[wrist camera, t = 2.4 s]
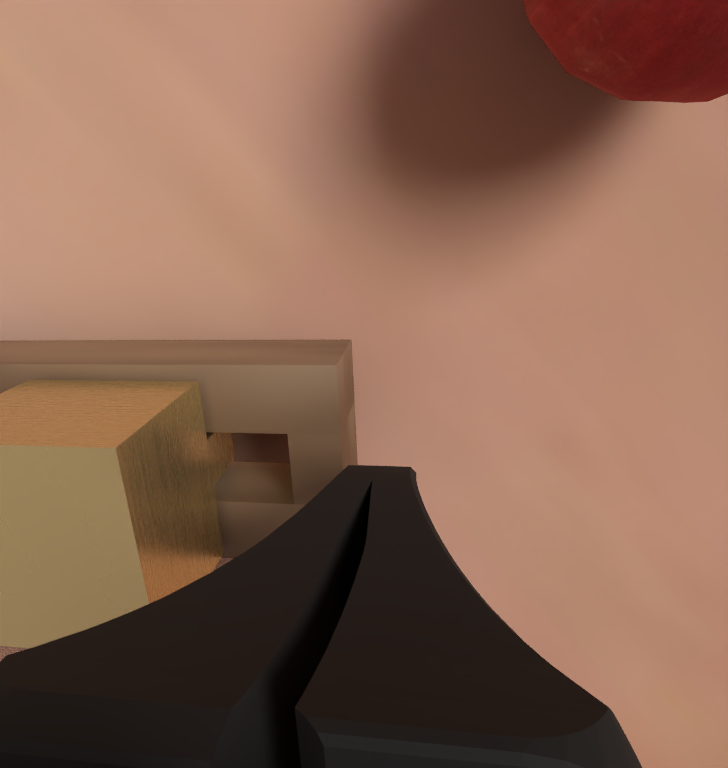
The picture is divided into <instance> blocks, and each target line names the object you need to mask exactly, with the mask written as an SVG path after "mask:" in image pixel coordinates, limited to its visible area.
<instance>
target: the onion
mask: <svg viewBox="0 0 728 768" xmlns="http://www.w3.org/2000/svg"><path fill="white" fill-rule="evenodd" d="M523 3H524V6H525V10H526V13H527V17H528V20H529V22H530V24H531V26H532V27H533V28H534V30H535V31H536V32H537V34H538V35H539V36H540V38H541V39H542V40H543V42H544V43H545V44H546V46H547V47H548V48H549V50H550V51H551V52H552V54H553V55H554V56H555V58H556V59H557V60H558V62H559V63H560V64H561V65H562V67H563V68H564V69H565V71H566V72H567V73H569V74H571V75H573V76H575V77H577V78H579V79H581V80H583V81H585V82H587V83H589V84H591V85H593V86H595V87H597V88H599V89H601V90H603V91H605V92H607V93H609V94H611V95H613V96H615V97H617V98H618V99H621V100H630V101H662V102H681V103H688V102H706V101H710V100H713V99H715V98H718V97H721V96H723V95H726V94H728V0H523Z"/></svg>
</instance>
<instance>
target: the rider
mask: <svg viewBox="0 0 728 768" xmlns="http://www.w3.org/2000/svg"><path fill="white" fill-rule="evenodd" d="M234 458H235V453H234V446H233V438H232V433H222V432H206V430H205V423H204V416H203V410H202V403H201V397H200V390H199V383H198V381H132V380H28V381H26V382H23V383H21V384H19V385H17V386H15V387H13V388H11V389H9V390H7V391H5V392H3V393H0V646H7V647H19V648H33V647H36V646H39V645H42V644H45V643H48V642H50V641H53V640H56V639H59V638H62V637H65V636H68V635H71V634H74V633H77V632H80V631H83V630H86V629H89V628H91V627H94V626H97V625H99V624H102V623H104V622H107V621H109V620H112V619H114V618H117V617H119V616H122V615H124V614H127V613H129V612H131V611H134V610H136V609H138V608H141V607H143V606H145V605H147V604H150V603H152V602H154V601H156V600H159V599H161V598H163V597H165V596H167V595H169V594H171V593H173V592H175V591H177V590H179V589H181V588H182V587H184V586H186V585H188V584H190V583H192V582H194V581H196V580H198V579H200V578H201V577H203V576H205V575H207V574H209V573H211V572H213V570H214V569H215V567H216V565H217V563H218V562H219V560H220V558H221V557H222V555H223V553H224V549H223V543H222V536H221V529H220V523H219V516H218V509H217V503H216V496H215V490H214V485H215V483H216V482H217V481H218V479H219V478H220V477H221V475H222V474H223V473H224V471H225V470H226V469H227V467H228V466H229V465H230V464H231V462H232V461H233V460H234Z"/></svg>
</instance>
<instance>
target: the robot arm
mask: <svg viewBox="0 0 728 768" xmlns="http://www.w3.org/2000/svg"><path fill="white" fill-rule="evenodd" d="M0 768H642V766H641V764H640V762H639V760H638V758H637V756H636V754H635V752H634V750H633V748H632V746H631V744H630V743H629V741H628V739H627V737H626V735H625V733H624V731H623V730H622V728H621V726H620V724H619V722H618V720H617V719H616V717H615V715H614V713H613V712H612V711H611V709H610V708H609V707H607V706H606V705H605V704H603V703H602V702H601V701H599V700H598V699H596V698H595V697H594V696H592V695H591V694H590V693H588V692H587V691H586V690H584V689H583V688H582V687H580V686H579V685H578V684H576V683H575V682H573V681H572V680H571V679H569V678H568V677H567V676H565V675H564V674H563V673H561V672H560V671H559V670H557V669H556V668H555V667H553V666H552V665H551V664H549V663H548V662H547V661H546V660H545V659H543V658H542V657H541V656H540V655H539V654H538V653H537V652H535V651H534V650H533V649H532V648H531V647H530V646H529V645H527V644H526V643H525V642H524V641H523V640H522V639H521V638H520V637H519V636H518V635H517V634H516V633H515V632H514V631H513V630H512V629H511V628H510V627H509V626H508V625H507V624H506V623H505V622H504V621H503V620H502V619H501V618H500V617H499V616H498V615H497V614H496V613H495V612H494V611H493V610H492V609H491V607H490V606H489V605H488V604H487V603H486V602H485V600H484V599H483V598H482V597H481V596H480V594H479V593H478V592H477V591H476V590H475V588H474V587H473V586H472V585H471V583H470V582H469V581H468V579H467V578H466V577H465V575H464V574H463V573H462V571H461V570H460V568H459V567H458V566H457V564H456V563H455V561H454V560H453V558H452V557H451V555H450V554H449V552H448V550H447V549H446V547H445V545H444V544H443V542H442V540H441V539H440V537H439V535H438V533H437V531H436V529H435V528H434V525H433V523H432V521H431V519H430V517H429V515H428V513H427V511H426V509H425V506H424V504H423V501H422V499H421V496H420V493H419V490H418V486H417V482H416V472H415V471H414V470H413V469H412V468H411V467H396V466H363V465H348V466H347V467H346V468H345V469H344V470H342V471H341V472H340V473H339V474H338V475H337V476H336V477H335V478H334V479H333V480H332V481H331V482H330V483H329V484H328V485H326V486H325V487H324V488H323V489H322V490H321V491H320V492H319V493H318V494H317V495H316V496H315V497H314V498H313V499H311V500H310V501H309V502H308V503H307V504H306V505H305V506H304V507H303V508H301V509H300V510H299V511H298V512H297V513H296V514H295V515H293V516H292V517H291V518H290V519H288V520H287V521H286V522H284V523H283V524H282V525H281V526H279V527H278V528H277V529H276V530H274V531H273V532H272V533H271V534H269V535H268V536H267V537H266V538H264V539H263V540H261V541H260V542H259V543H257V544H256V545H254V546H253V547H251V548H250V549H248V550H247V551H245V552H244V553H242V554H241V555H239V556H238V557H236V558H234V559H233V560H231V561H230V562H228V563H226V564H225V565H223V566H222V567H220V568H218V569H216V570H215V571H213V572H211V573H209V574H207V575H205V576H203V577H201V578H200V579H198V580H196V581H194V582H192V583H190V584H188V585H186V586H184V587H182V588H181V589H179V590H177V591H175V592H173V593H171V594H169V595H167V596H165V597H163V598H161V599H159V600H156V601H154V602H152V603H150V604H147V605H145V606H143V607H141V608H138V609H136V610H134V611H131V612H129V613H127V614H124V615H122V616H119V617H117V618H114V619H112V620H109V621H107V622H104V623H102V624H99V625H97V626H94V627H91V628H89V629H86V630H83V631H80V632H77V633H74V634H71V635H68V636H65V637H62V638H59V639H56V640H53V641H50V642H48V643H45V644H42V645H39V646H36V647H33V648H30V649H27V650H24V651H20V652H17V653H14V654H11V655H7V656H5V657H4V658H3V659H2V661H1V662H0Z"/></svg>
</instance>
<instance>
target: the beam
mask: <svg viewBox="0 0 728 768" xmlns="http://www.w3.org/2000/svg"><path fill="white" fill-rule="evenodd" d="M28 380H132V381H198V383H199V390H200V397H201V403H202V410H203V416H204V423H205V430H206V432H222V433H269V434H287V436H288V446H289V457H290V463H281V462H246V461H232V462H231V464H230V465H229V466H228V467H227V469H226V470H225V471H224V473H223V474H222V475H221V477H220V478H219V479H218V481H217V482H216V483H215V485H214V490H215V496H216V503H217V509H218V516H219V523H220V529H221V536H222V543H223V549H224V553H223V555H222V557H226V558H236V557H238V556H239V555H241V554H242V553H244V552H245V551H247V550H248V549H250V548H251V547H253V546H254V545H256V544H257V543H259V542H260V541H261V540H263V539H264V538H266V537H267V536H268V535H269V534H271V533H272V532H273V531H274V530H276V529H277V528H278V527H279V526H281V525H282V524H283V523H284V522H286V521H287V520H288V519H290V518H291V517H292V516H293V515H295V514H296V513H297V512H298V511H299V510H300V509H301V508H303V507H304V506H305V505H306V504H307V503H308V502H309V501H310V500H311V499H313V498H314V497H315V496H316V495H317V494H318V493H319V492H320V491H321V490H322V489H323V488H324V487H325V486H326V485H328V484H329V483H330V482H331V481H332V480H333V479H334V478H335V477H336V476H337V475H338V474H339V473H340V472H341V471H342V470H344V469H345V468H346V467H347V466H348V465H358V464H357V444H356V424H355V403H354V383H353V363H352V342H351V340H117V341H0V393H3V392H5V391H7V390H9V389H11V388H13V387H15V386H17V385H19V384H21V383H23V382H26V381H28Z"/></svg>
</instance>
